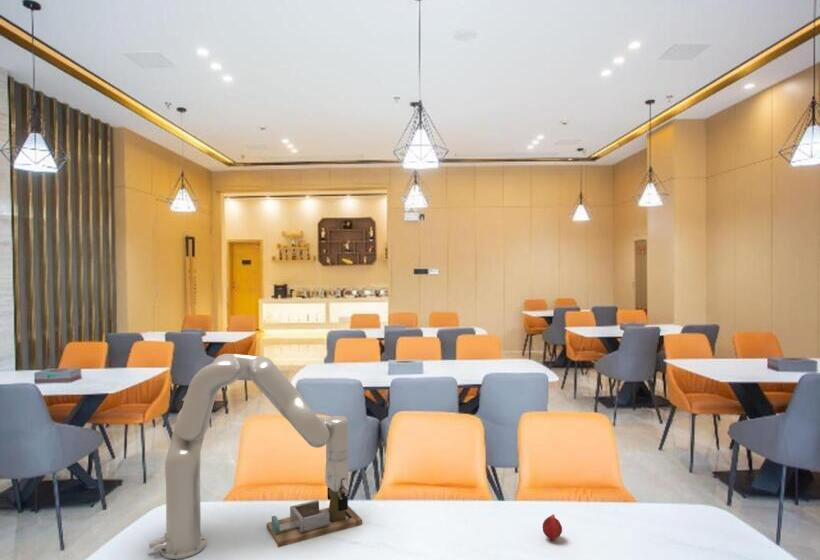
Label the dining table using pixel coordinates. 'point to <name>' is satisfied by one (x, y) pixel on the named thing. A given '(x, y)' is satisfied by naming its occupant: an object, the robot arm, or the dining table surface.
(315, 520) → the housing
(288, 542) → the board
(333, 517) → the olive tapered rounded piece
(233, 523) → the dining table surface
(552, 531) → the onion
